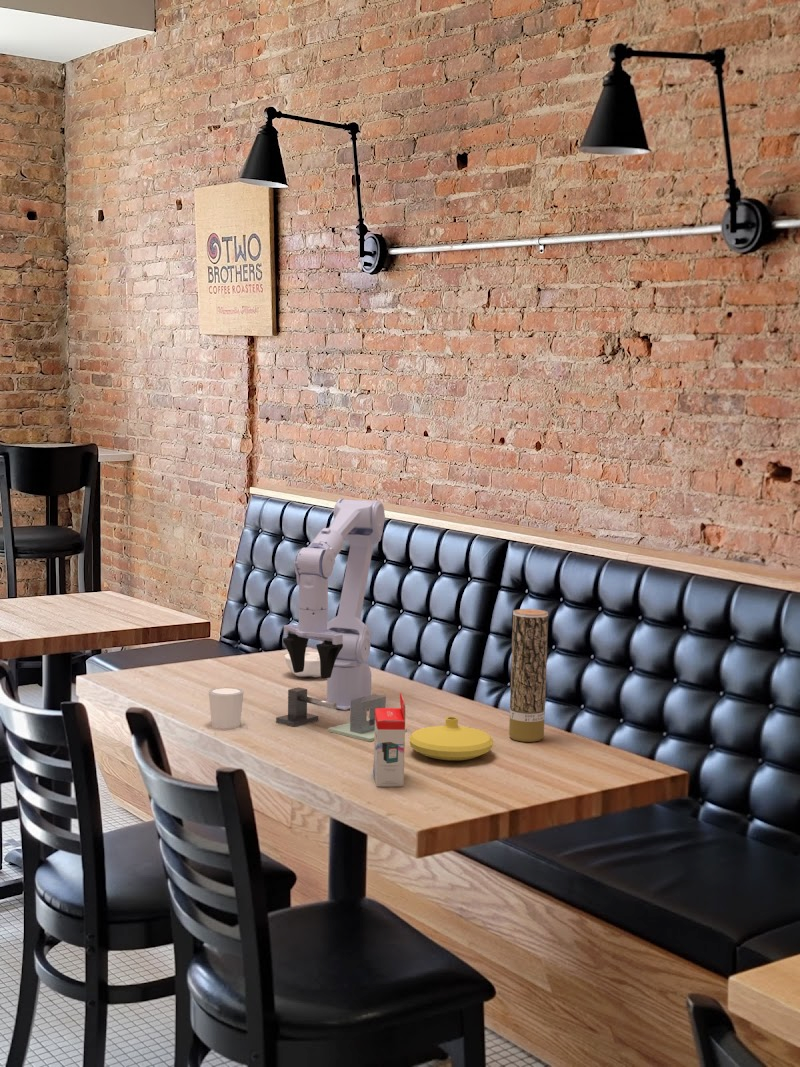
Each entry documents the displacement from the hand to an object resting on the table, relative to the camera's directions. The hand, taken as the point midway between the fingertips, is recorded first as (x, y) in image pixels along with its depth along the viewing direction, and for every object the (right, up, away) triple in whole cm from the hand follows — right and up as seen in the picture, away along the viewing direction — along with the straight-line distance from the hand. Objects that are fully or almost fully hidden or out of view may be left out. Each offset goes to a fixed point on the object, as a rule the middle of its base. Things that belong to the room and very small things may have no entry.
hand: (312, 675), depth 268 cm
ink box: (+16, -15, -36) cm, 42 cm away
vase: (+27, -13, -19) cm, 36 cm away
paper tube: (+42, -12, -6) cm, 44 cm away
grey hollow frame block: (+11, -11, -5) cm, 16 cm away
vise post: (0, -10, 0) cm, 10 cm away
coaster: (+11, -11, -4) cm, 16 cm away
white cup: (-17, -10, -2) cm, 20 cm away
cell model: (-4, -5, +43) cm, 44 cm away
